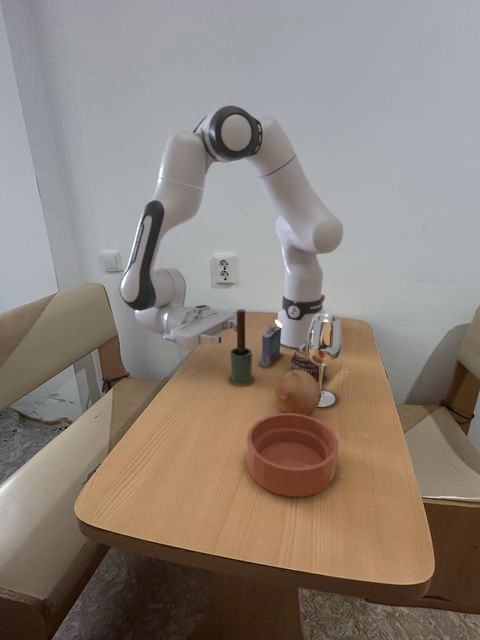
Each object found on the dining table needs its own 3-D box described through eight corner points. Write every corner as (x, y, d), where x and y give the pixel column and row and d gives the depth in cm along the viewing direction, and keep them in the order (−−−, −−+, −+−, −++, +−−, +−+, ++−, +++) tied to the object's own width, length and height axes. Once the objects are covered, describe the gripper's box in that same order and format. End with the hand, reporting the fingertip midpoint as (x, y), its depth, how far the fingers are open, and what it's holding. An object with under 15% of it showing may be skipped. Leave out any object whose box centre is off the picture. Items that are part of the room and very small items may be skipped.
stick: (240, 375, 96) (239, 308, 88) (246, 377, 95) (246, 310, 87) (235, 378, 94) (235, 311, 87) (242, 380, 93) (242, 312, 86)
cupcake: (300, 366, 102) (302, 332, 98) (333, 376, 97) (337, 340, 93) (282, 379, 95) (283, 343, 91) (316, 391, 90) (319, 353, 86)
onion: (317, 429, 76) (321, 386, 72) (269, 421, 79) (271, 380, 74) (321, 404, 85) (325, 364, 80) (278, 397, 87) (279, 359, 83)
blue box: (268, 368, 101) (269, 331, 97) (258, 365, 102) (258, 329, 98) (281, 355, 108) (283, 320, 104) (272, 353, 110) (273, 319, 105)
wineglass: (314, 386, 92) (321, 309, 84) (342, 398, 87) (352, 317, 78) (294, 398, 87) (300, 317, 79) (323, 411, 82) (331, 326, 74)
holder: (238, 373, 98) (237, 345, 95) (255, 378, 96) (255, 350, 92) (227, 381, 94) (226, 353, 91) (244, 387, 92) (244, 358, 88)
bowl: (272, 429, 76) (273, 404, 74) (346, 456, 69) (350, 429, 66) (230, 476, 64) (230, 448, 62) (315, 514, 57) (318, 484, 54)
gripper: (158, 325, 89) (204, 336, 82) (209, 302, 105) (251, 310, 98) (160, 349, 91) (205, 361, 85) (210, 323, 107) (251, 333, 101)
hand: (230, 334), depth 91 cm, fingers open, 8 cm apart
